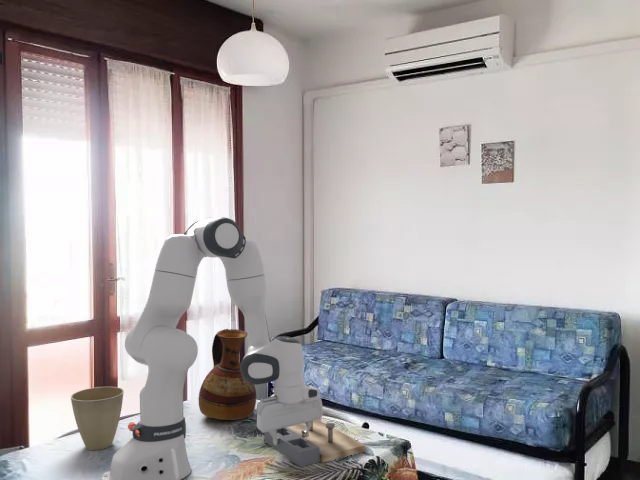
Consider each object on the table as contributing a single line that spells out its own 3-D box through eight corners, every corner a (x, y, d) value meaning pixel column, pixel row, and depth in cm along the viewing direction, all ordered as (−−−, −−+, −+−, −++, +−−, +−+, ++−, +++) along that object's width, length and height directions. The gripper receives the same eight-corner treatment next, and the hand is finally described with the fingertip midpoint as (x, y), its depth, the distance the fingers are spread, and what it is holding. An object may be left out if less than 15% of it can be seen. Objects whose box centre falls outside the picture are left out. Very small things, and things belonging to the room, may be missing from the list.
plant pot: (63, 446, 177) (62, 393, 177) (111, 433, 188) (109, 384, 187) (85, 459, 167) (83, 403, 166) (134, 445, 177) (132, 392, 177)
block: (300, 466, 158) (300, 452, 158) (264, 441, 178) (264, 428, 178) (319, 462, 161) (319, 447, 161) (282, 437, 181) (282, 424, 181)
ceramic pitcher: (219, 430, 189) (217, 337, 188) (187, 416, 204) (185, 330, 203) (268, 416, 202) (266, 329, 202) (234, 404, 217) (233, 323, 216)
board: (323, 462, 161) (322, 436, 160) (278, 433, 185) (277, 410, 185) (365, 452, 168) (365, 427, 167) (316, 425, 192) (316, 403, 192)
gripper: (261, 402, 162) (263, 451, 162) (324, 389, 173) (326, 435, 173) (252, 396, 167) (253, 445, 168) (313, 384, 178) (315, 429, 178)
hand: (291, 440), depth 171 cm, fingers open, 8 cm apart
